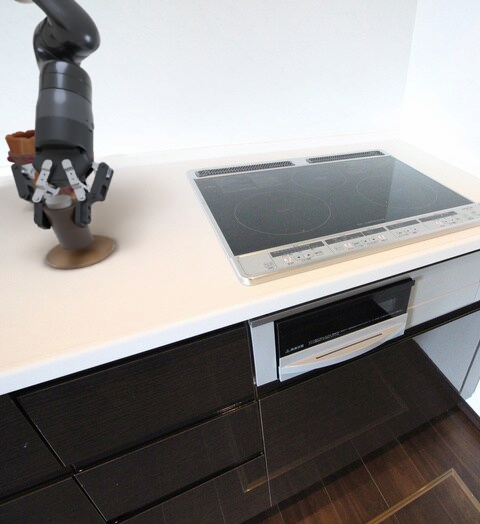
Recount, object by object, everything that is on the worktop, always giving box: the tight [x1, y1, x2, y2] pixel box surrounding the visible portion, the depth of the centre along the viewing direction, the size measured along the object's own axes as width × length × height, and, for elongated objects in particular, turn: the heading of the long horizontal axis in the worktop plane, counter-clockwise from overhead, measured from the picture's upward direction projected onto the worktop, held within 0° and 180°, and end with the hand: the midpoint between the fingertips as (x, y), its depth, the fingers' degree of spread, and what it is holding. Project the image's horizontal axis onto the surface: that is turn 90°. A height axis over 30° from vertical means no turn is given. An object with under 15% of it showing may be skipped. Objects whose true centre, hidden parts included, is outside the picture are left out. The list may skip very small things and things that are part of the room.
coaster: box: [45, 234, 115, 270], centre depth 62 cm, size 10×10×1 cm
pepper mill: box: [43, 195, 94, 250], centre depth 58 cm, size 5×5×8 cm
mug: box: [4, 129, 95, 200], centre depth 73 cm, size 15×8×15 cm, turn 148°
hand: (63, 226), depth 57 cm, fingers closed on pepper mill, 4 cm apart
